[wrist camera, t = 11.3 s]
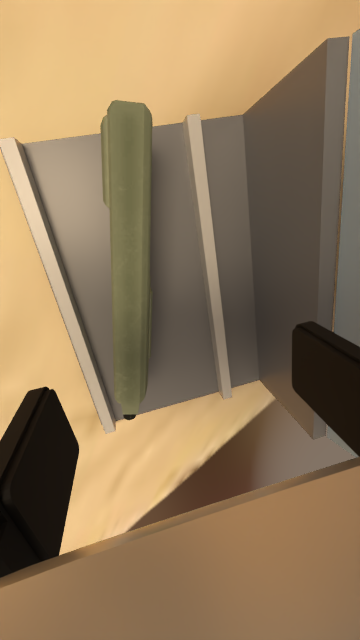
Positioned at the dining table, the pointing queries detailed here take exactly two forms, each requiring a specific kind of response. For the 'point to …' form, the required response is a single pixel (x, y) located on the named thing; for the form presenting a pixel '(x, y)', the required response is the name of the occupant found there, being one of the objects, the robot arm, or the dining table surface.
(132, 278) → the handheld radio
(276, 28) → the dining table surface
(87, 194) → the grey sloped stand
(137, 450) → the dining table surface
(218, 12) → the dining table surface
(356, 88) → the cover
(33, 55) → the dining table surface
